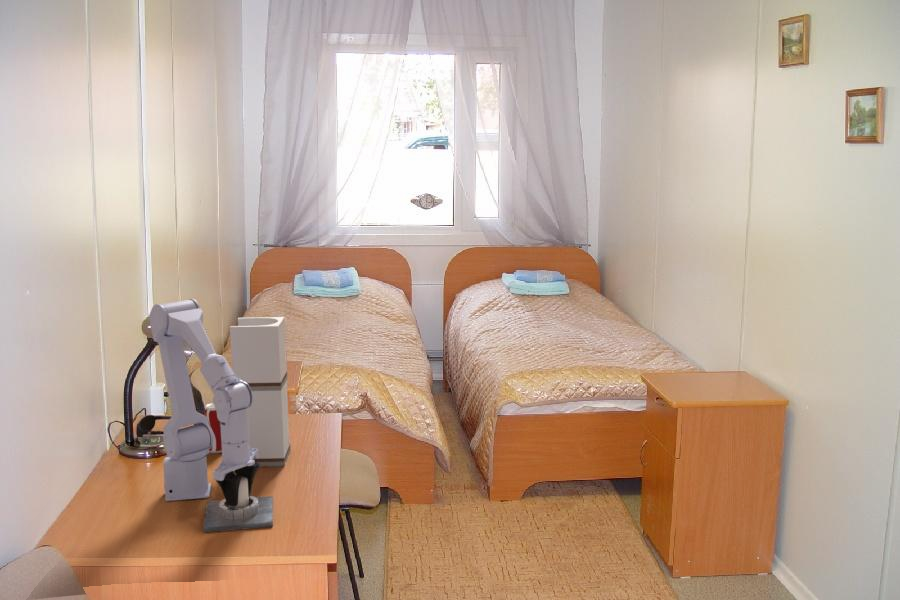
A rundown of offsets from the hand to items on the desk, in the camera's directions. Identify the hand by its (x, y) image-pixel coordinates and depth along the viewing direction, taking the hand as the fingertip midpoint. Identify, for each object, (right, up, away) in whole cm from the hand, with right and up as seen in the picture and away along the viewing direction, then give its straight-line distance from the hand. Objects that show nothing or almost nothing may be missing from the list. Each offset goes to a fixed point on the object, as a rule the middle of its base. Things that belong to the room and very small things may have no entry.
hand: (238, 500), depth 199 cm
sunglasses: (-31, +6, +52) cm, 61 cm away
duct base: (0, -3, +1) cm, 3 cm away
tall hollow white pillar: (-1, +3, +34) cm, 35 cm away
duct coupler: (0, -1, 0) cm, 2 cm away
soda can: (-15, +4, +41) cm, 44 cm away
